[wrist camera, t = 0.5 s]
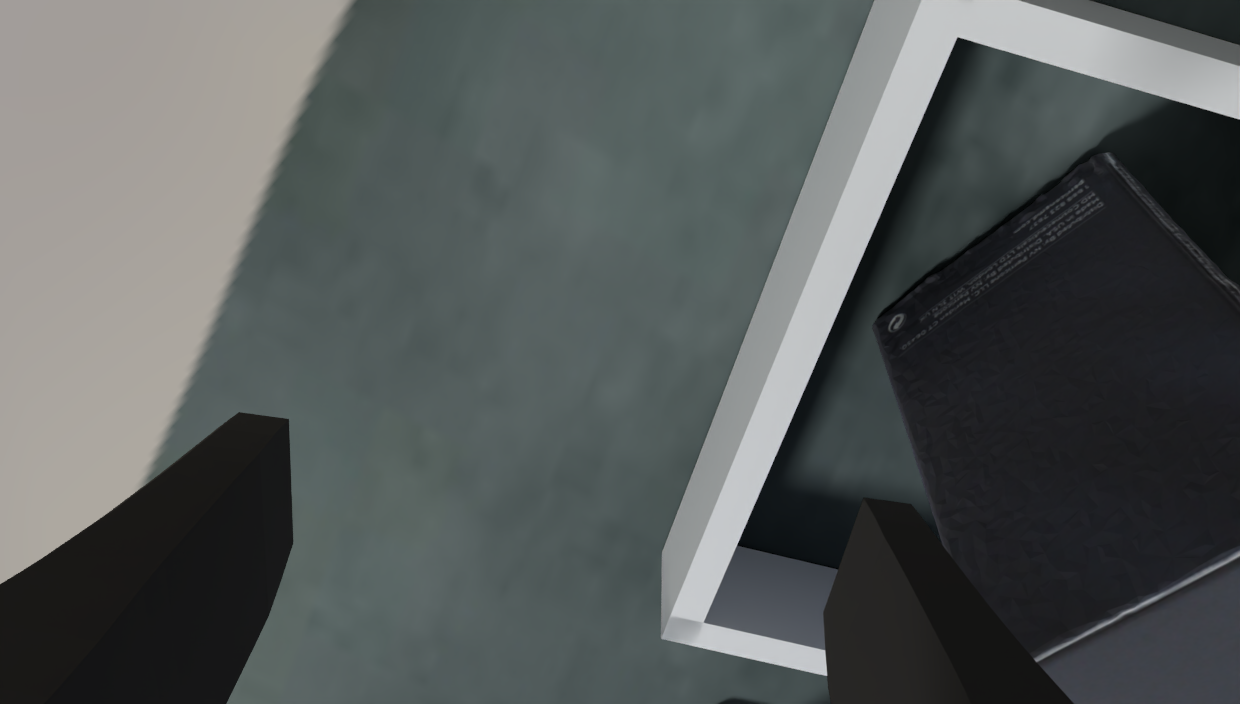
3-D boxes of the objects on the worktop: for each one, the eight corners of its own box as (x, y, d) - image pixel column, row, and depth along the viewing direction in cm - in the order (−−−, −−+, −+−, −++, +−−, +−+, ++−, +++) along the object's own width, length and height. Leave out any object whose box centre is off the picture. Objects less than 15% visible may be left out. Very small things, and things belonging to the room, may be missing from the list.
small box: (847, 329, 23) (959, 700, 14) (1102, 135, 21) (1430, 439, 12) (1103, 582, 27) (1320, 1007, 18) (1348, 443, 24) (1743, 857, 15)
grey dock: (1210, 680, 28) (1263, 773, 26) (661, 552, 27) (660, 638, 24) (1638, 164, 21) (1775, 225, 18) (897, -58, 19) (932, -26, 16)
